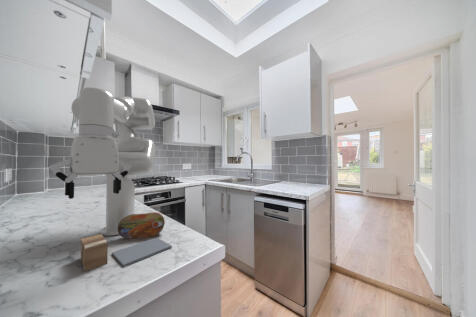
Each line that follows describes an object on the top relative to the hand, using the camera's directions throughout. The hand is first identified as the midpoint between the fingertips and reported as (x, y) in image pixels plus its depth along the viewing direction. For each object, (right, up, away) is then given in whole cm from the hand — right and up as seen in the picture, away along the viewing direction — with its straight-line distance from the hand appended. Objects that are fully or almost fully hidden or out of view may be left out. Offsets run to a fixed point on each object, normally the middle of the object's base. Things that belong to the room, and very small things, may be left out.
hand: (95, 195), depth 47 cm
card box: (0, -18, -1) cm, 18 cm away
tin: (+4, -19, +15) cm, 25 cm away
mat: (+11, -18, +4) cm, 21 cm away
